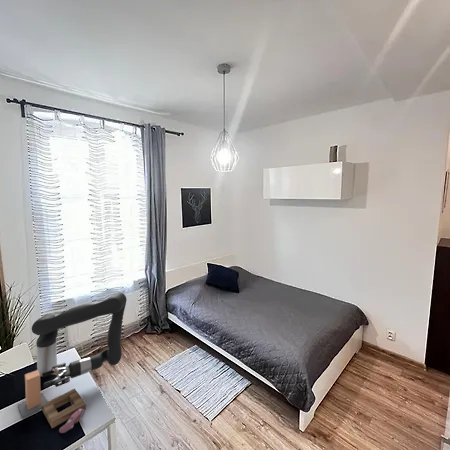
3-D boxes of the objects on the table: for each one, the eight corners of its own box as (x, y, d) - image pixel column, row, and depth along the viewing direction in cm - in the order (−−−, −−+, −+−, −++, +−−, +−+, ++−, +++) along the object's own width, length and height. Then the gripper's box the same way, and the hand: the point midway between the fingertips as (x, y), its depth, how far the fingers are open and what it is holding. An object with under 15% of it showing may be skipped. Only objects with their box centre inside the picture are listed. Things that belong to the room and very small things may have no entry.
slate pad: (17, 406, 121) (17, 404, 121) (42, 394, 129) (42, 392, 129) (23, 418, 115) (23, 416, 115) (48, 405, 123) (48, 403, 122)
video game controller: (65, 438, 108) (71, 427, 107) (57, 432, 109) (63, 420, 107) (82, 419, 118) (88, 408, 117) (74, 413, 118) (80, 402, 117)
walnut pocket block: (42, 410, 120) (41, 404, 119) (74, 393, 130) (74, 388, 130) (52, 428, 111) (51, 422, 110) (85, 409, 121) (85, 403, 121)
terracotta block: (26, 403, 122) (24, 374, 120) (38, 397, 126) (37, 369, 124) (28, 409, 118) (26, 380, 117) (41, 403, 122) (40, 374, 121)
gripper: (77, 353, 139) (41, 365, 128) (83, 367, 128) (43, 381, 117) (77, 366, 139) (41, 379, 129) (83, 381, 129) (44, 396, 118)
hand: (42, 380), depth 123 cm, fingers open, 8 cm apart
